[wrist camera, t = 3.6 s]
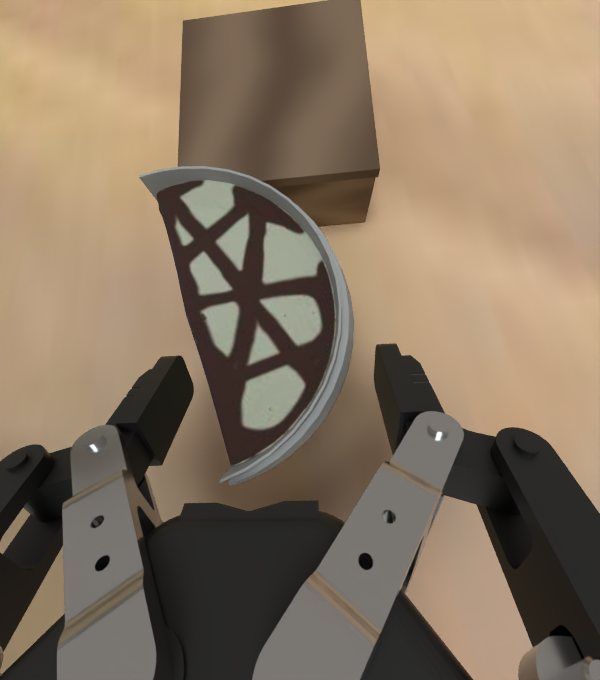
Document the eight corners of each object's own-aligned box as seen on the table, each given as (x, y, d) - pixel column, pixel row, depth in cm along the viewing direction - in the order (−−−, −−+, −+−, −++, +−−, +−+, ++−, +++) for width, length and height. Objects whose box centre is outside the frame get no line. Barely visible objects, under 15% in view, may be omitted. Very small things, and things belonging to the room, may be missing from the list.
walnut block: (210, 236, 22) (177, 189, 17) (212, 98, 24) (183, 20, 19) (366, 223, 21) (379, 168, 16) (352, 81, 23) (360, -5, 18)
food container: (370, 413, 18) (423, 432, 9) (277, 446, 19) (224, 502, 9) (305, 243, 21) (288, 108, 11) (223, 272, 21) (135, 164, 11)
